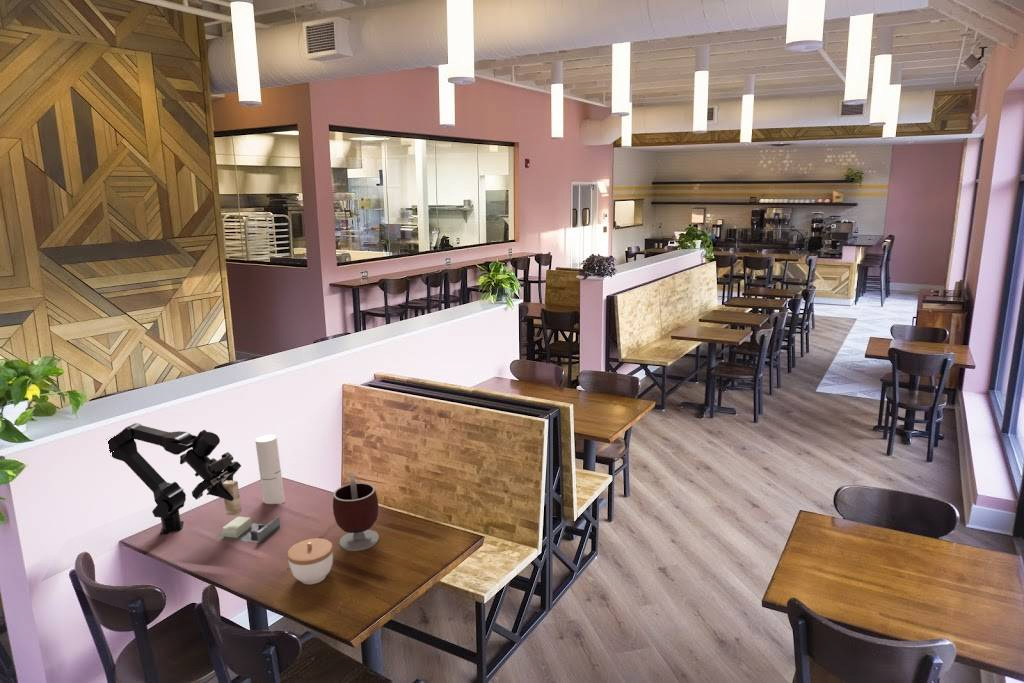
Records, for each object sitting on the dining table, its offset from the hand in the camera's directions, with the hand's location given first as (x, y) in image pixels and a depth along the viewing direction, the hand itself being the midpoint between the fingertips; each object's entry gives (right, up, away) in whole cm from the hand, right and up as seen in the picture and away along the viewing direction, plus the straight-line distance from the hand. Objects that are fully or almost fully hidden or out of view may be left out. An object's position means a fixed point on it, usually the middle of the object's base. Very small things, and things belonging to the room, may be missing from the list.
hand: (235, 498), depth 221 cm
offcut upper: (0, -10, +3) cm, 10 cm away
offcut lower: (0, -12, +3) cm, 12 cm away
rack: (+4, -13, +2) cm, 14 cm away
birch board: (-1, -5, +2) cm, 6 cm away
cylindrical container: (+4, -8, +25) cm, 27 cm away
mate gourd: (+41, -13, -3) cm, 43 cm away
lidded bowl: (+32, -18, -23) cm, 43 cm away
